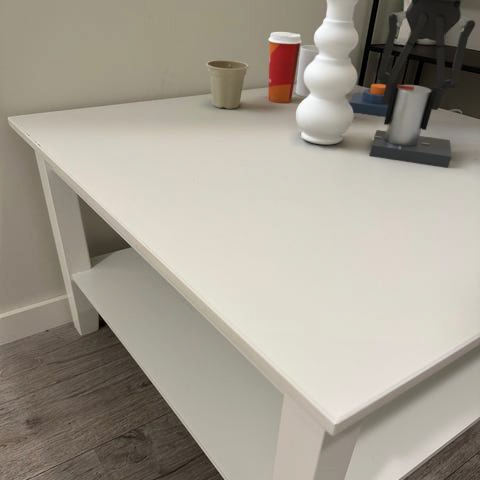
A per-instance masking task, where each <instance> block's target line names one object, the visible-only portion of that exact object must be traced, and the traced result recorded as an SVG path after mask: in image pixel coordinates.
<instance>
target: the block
mask: <svg viewBox="0 0 480 480" xmlns="http://www.w3.org/2000/svg"><path fill="white" fill-rule="evenodd" d="M370 90H371V88H365V89H364V90H363V93H361V92H360V93H359V92H354V93H353V94H352V96H351V98H350V99H349V101H348V102H349V104H350V105H351V107H352V109H353V114H358V113H361V114H360V115H366V114H367V116H375V117H383V118H385V117H386V113H387V108H388V104H384V103H383V96H384V95H379V94H373V93H370Z"/></svg>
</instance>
